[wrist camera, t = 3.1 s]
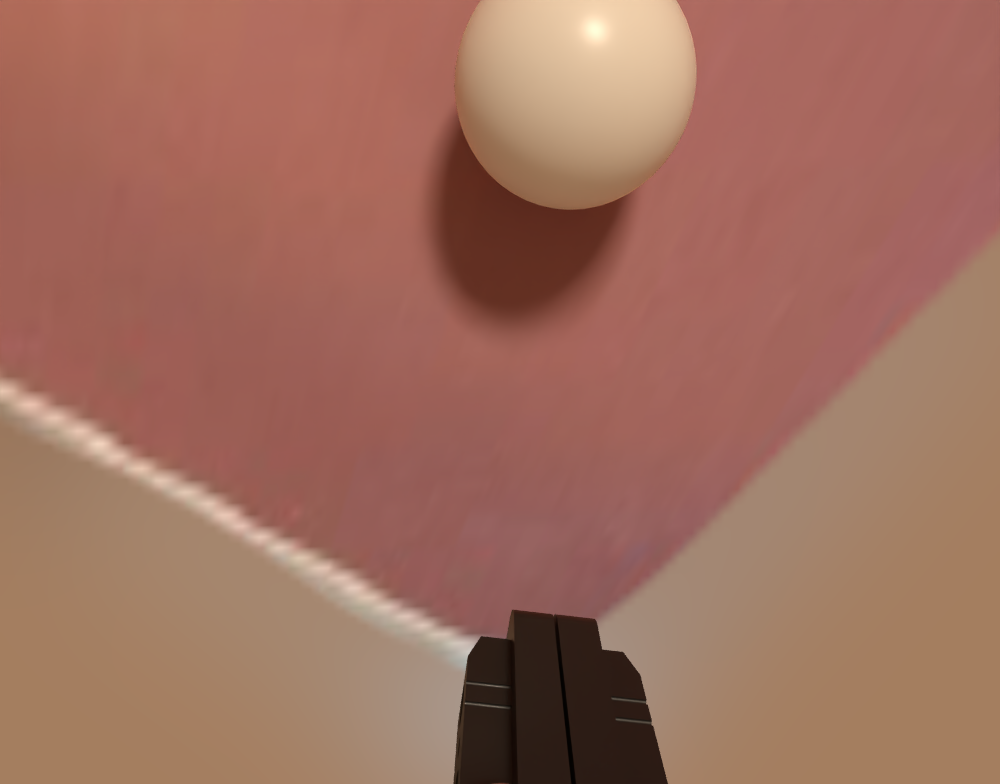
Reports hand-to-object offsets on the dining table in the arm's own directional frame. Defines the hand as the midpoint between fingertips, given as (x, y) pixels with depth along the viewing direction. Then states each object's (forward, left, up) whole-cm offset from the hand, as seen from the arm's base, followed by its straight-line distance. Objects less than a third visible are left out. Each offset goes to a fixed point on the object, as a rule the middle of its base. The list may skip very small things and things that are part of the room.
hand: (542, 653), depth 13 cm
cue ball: (+7, +7, -9) cm, 13 cm away
